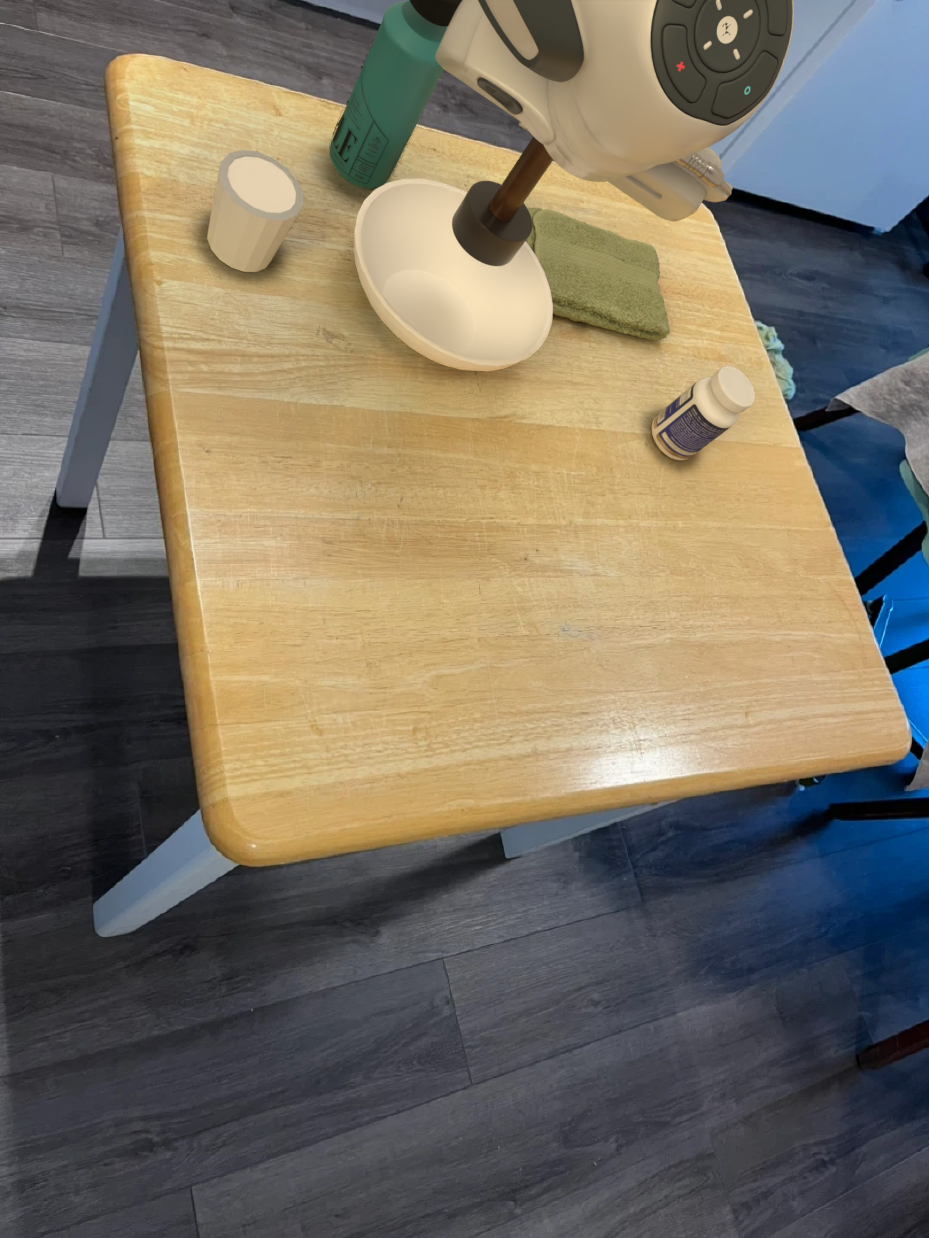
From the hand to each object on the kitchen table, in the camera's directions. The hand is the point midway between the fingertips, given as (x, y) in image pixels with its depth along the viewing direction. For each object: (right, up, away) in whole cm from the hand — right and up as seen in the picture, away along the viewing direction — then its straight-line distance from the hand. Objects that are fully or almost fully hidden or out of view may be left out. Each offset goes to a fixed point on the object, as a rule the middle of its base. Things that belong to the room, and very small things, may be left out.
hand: (551, 133), depth 66 cm
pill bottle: (+15, -17, +28) cm, 36 cm away
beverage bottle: (-17, +6, +19) cm, 27 cm away
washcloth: (+7, 0, +30) cm, 31 cm away
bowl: (-10, -8, +17) cm, 22 cm away
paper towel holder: (-5, -4, +8) cm, 10 cm away
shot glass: (-26, -4, +10) cm, 28 cm away
